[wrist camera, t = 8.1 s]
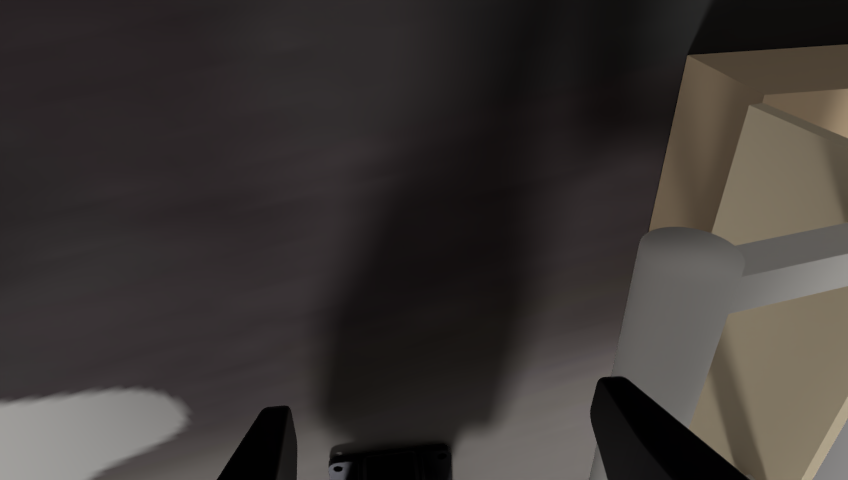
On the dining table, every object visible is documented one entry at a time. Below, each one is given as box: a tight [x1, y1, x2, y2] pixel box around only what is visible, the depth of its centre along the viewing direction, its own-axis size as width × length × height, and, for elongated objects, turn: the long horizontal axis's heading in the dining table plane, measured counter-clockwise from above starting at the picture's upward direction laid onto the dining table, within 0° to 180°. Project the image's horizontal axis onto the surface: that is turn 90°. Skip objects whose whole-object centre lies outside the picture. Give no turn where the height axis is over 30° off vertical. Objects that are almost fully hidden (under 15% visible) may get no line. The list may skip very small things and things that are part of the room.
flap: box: [589, 103, 848, 480], centre depth 17 cm, size 14×6×7 cm
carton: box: [649, 44, 848, 233], centre depth 22 cm, size 14×12×5 cm
